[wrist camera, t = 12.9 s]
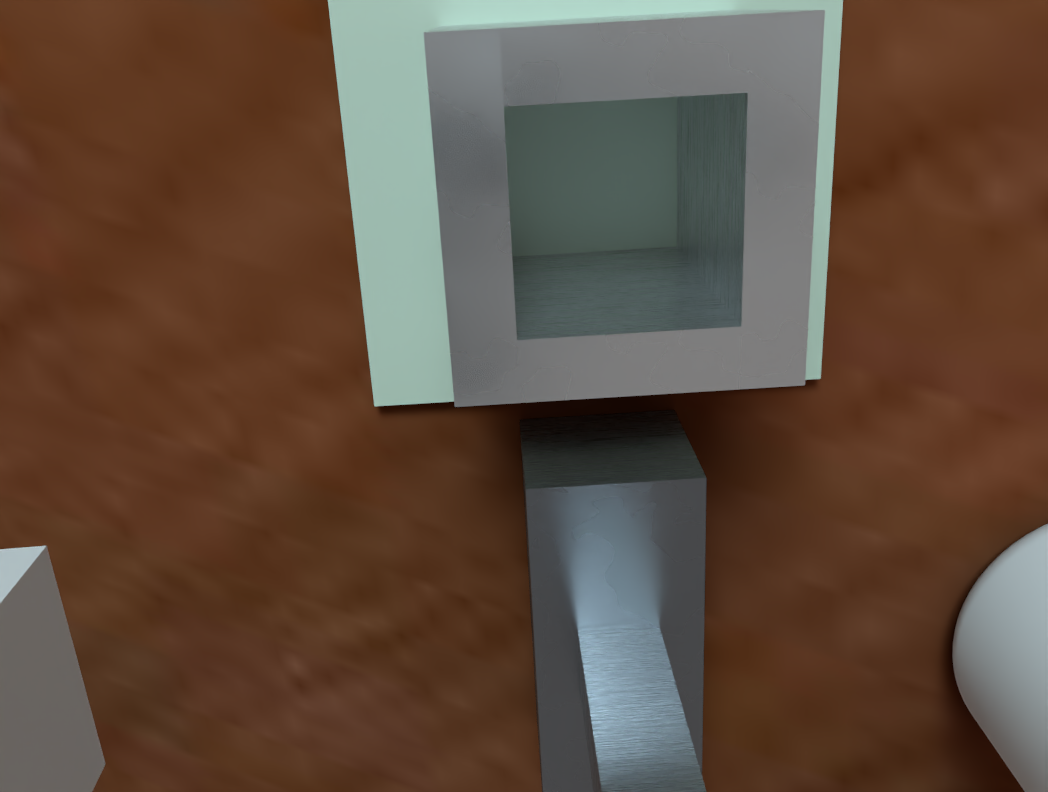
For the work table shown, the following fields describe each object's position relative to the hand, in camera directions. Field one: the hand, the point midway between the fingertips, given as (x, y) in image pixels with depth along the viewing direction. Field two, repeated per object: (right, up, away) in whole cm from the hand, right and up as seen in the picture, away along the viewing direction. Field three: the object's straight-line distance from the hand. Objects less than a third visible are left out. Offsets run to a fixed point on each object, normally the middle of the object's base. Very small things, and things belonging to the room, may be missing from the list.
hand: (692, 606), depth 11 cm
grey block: (+1, -4, +24) cm, 24 cm away
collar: (0, +9, +18) cm, 20 cm away
